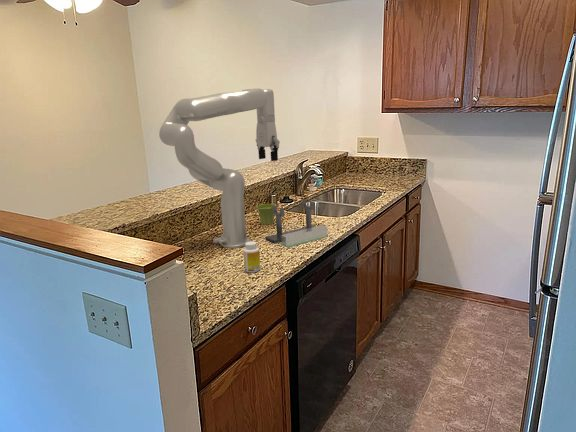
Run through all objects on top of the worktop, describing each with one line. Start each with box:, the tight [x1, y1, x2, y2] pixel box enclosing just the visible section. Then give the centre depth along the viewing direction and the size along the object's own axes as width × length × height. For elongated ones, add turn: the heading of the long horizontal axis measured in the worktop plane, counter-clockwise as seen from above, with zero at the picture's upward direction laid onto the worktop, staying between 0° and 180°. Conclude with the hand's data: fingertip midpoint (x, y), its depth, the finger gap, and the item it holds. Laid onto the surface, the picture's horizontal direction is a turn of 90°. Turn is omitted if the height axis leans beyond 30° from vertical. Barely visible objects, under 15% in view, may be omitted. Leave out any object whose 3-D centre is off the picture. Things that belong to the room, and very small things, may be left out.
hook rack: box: [264, 199, 317, 245], centre depth 194 cm, size 26×7×14 cm, turn 125°
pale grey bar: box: [281, 224, 329, 246], centre depth 188 cm, size 22×4×4 cm, turn 125°
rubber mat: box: [279, 235, 328, 248], centre depth 188 cm, size 21×6×1 cm, turn 125°
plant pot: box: [256, 203, 276, 226], centre depth 216 cm, size 9×9×9 cm
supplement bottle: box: [242, 240, 261, 274], centre depth 157 cm, size 6×6×10 cm
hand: (268, 159), depth 192 cm, fingers open, 9 cm apart
